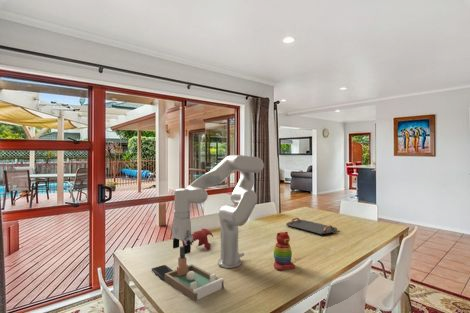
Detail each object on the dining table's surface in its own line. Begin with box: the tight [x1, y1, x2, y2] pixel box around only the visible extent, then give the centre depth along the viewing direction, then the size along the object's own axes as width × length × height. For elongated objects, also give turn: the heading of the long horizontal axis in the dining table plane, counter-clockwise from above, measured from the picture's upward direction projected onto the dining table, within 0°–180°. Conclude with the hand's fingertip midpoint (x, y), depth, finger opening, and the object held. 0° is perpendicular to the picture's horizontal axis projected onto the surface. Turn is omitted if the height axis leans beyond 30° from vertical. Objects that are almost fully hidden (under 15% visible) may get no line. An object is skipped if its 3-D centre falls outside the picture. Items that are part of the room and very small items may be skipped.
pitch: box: [164, 264, 225, 302], centre depth 118 cm, size 15×24×5 cm, turn 44°
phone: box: [151, 264, 174, 282], centre depth 129 cm, size 8×1×15 cm
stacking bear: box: [273, 231, 296, 272], centre depth 137 cm, size 11×10×18 cm
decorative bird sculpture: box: [181, 228, 214, 251], centre depth 163 cm, size 28×9×15 cm
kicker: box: [176, 245, 188, 276], centre depth 124 cm, size 5×2×13 cm, turn 134°
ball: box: [186, 271, 195, 281], centre depth 119 cm, size 4×4×4 cm
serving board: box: [285, 217, 338, 237], centre depth 207 cm, size 39×23×6 cm, turn 39°
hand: (181, 250), depth 124 cm, fingers open, 9 cm apart
